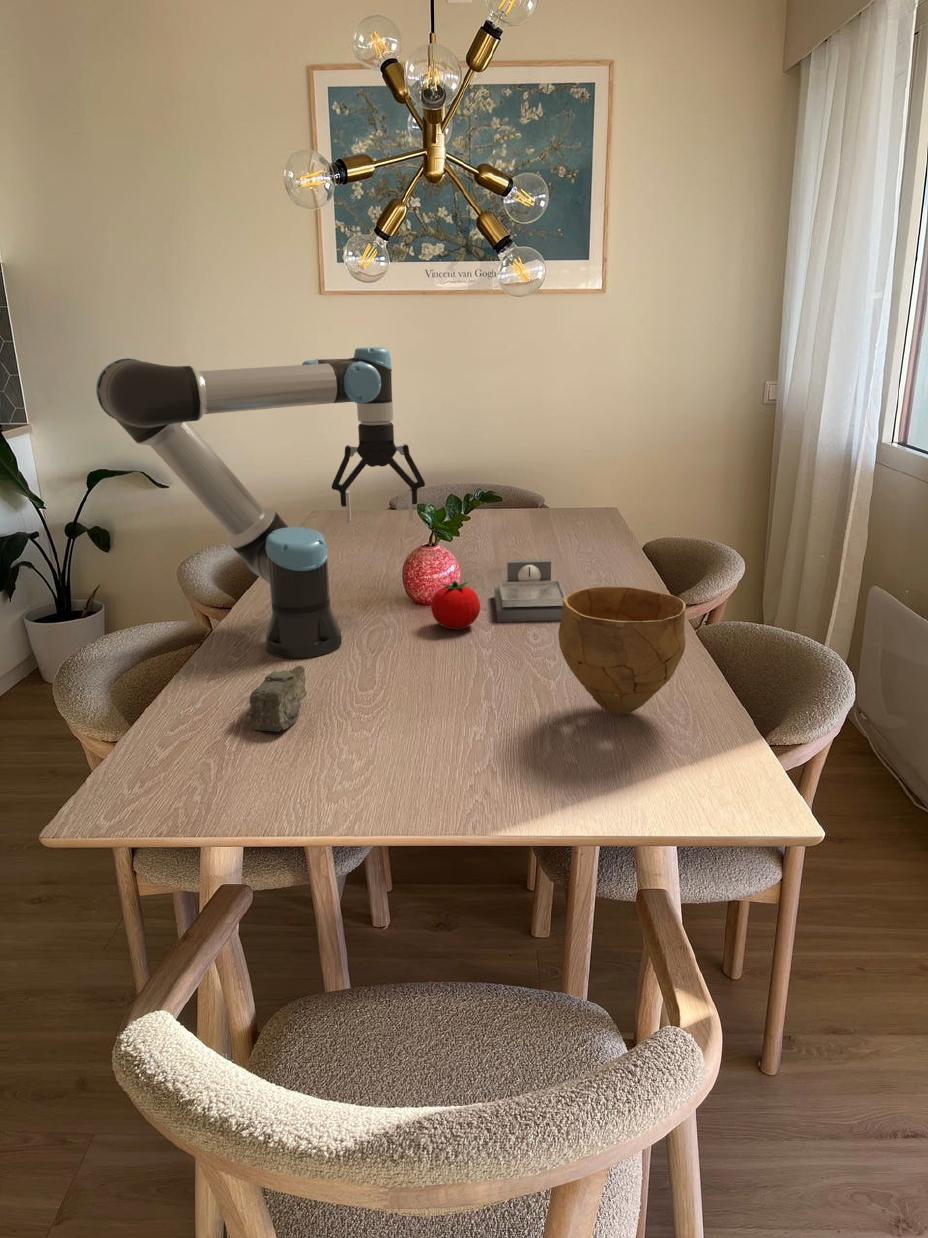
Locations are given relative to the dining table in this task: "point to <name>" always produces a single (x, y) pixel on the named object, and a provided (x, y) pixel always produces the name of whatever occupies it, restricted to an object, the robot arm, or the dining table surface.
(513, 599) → the pan
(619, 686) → the bowl
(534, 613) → the scale body
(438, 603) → the tomato
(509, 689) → the dining table surface
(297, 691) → the rock
